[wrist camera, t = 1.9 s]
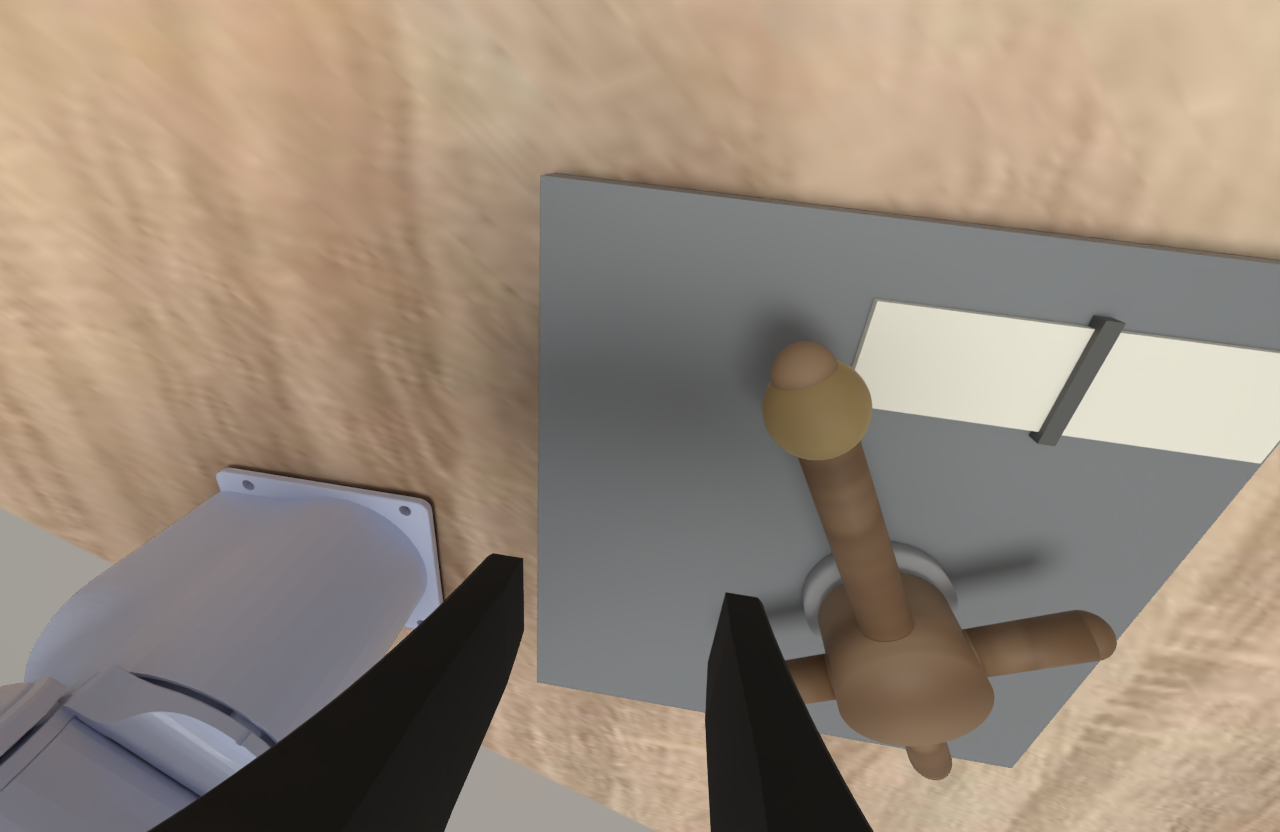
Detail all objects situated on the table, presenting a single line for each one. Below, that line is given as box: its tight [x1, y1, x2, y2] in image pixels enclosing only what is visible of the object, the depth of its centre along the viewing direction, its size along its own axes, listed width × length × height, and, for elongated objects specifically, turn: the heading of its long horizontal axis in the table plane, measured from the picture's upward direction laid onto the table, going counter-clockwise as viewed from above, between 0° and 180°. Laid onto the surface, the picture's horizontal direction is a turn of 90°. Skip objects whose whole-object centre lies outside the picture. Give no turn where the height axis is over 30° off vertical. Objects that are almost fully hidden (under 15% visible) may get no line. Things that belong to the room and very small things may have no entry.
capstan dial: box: [762, 341, 1117, 780], centre depth 16 cm, size 18×12×3 cm
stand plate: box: [537, 173, 1280, 768], centre depth 19 cm, size 22×22×2 cm
